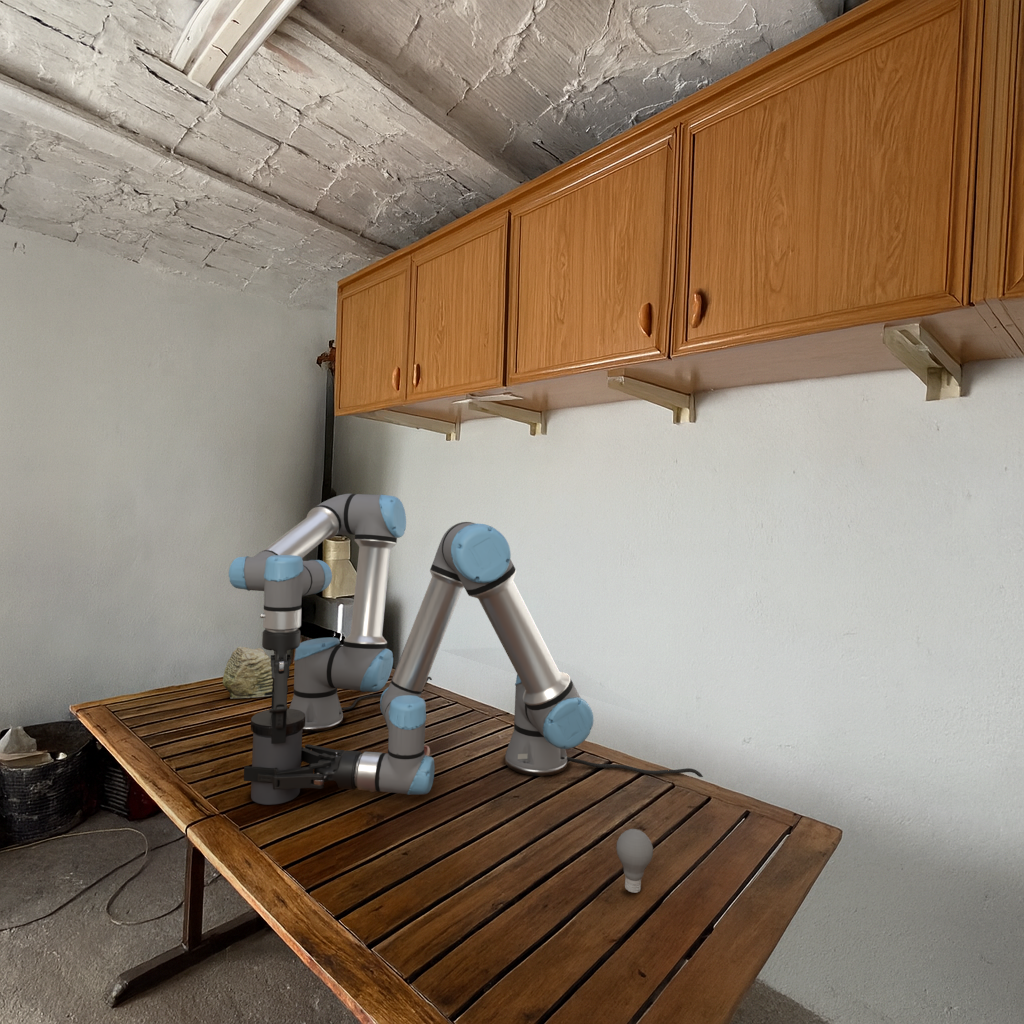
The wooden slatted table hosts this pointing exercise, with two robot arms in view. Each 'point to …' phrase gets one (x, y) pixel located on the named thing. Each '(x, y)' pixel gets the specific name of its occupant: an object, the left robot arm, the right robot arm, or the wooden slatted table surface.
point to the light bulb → (634, 857)
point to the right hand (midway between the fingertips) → (257, 762)
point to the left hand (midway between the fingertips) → (277, 732)
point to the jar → (275, 757)
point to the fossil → (248, 674)
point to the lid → (263, 722)
